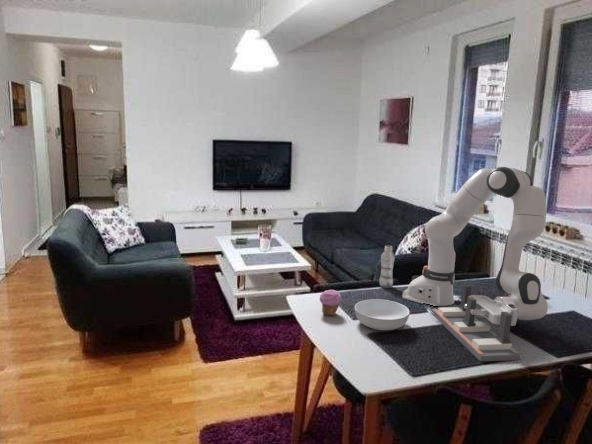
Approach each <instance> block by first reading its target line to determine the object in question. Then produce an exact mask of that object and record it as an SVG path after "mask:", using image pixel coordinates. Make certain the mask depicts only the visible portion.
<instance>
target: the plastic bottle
mask: <svg viewBox="0 0 592 444" xmlns="http://www.w3.org/2000/svg"><path fill="white" fill-rule="evenodd" d="M393 248H394V247H393V245H388V244H387V245H386V244H385V245H384V251H383V252H382V254H381V255H380V263H381V265H380V267H381V268H380V269H381V270H380V276H379V281H378V284H379V285H380V287H382V288H391V287H392V286H393V284H394V278H393V269H394V263H395V258H396V257H395V254H394V252H393V250H394V249H393Z"/></svg>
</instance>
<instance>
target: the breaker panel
mask: <svg viewBox="0 0 592 444" xmlns="http://www.w3.org/2000/svg"><path fill="white" fill-rule="evenodd" d="M431 311H432V312H433V313H434V314H433V315H432V316H434V318H436V320H437V321H438V322H439V323H441V324H442V325H443V326H444V328H446V329H447V331H449V332H450V334H451V335H453V336H454V337H455V338H456V339H457V340H458V341H459V342H460V343H461V344H462V345H463V346H464V347H465V348H466V349H467V350H468V351H469V352H470V353H471V354H472V355H473V356H474V357H475V358H476V359H477V360H478V361H479V362H497V361H498V362H499V361H500V362H501V361H505V362H506V361H521V360H520V359H521V354H520V353H519V352H518V351H517V350H516V349H515V348H514V347H512V345H513V344H512V342H511V343H501V342H500V341H499V340H497V339H496V338H495V337H496V336H498V334H496V332H494V331H492V330H491V326H490V325H489V324H488V323H487V322H485V321H483V320H482V321H481V320H479V319H478V318H477V317H476V316H475V317H474V322H475V323H476V326H467V325H466V324H465V323H464V322H463V319H465V314H466V311H463V310H462V309H460V308H459V307H458V306H457V307H455V306H453V307H451V306H450V307H437V308H431Z"/></svg>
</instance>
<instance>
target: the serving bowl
mask: <svg viewBox="0 0 592 444" xmlns="http://www.w3.org/2000/svg"><path fill="white" fill-rule="evenodd" d="M410 312H411V311H410V309H409V308H408V307H407V306H406V305H404V304H401V303H399V302H396V301H394V300H393V301H392V300H388V299H381V298H380V299H379V298H378V299H376V298H375V299H374V298H373V299H371V298H370V299H364V300H360V301H358V302H357V303H355V305H354V313H355V317H356V318H357V320H358V321H359V322H360V323H361V324H362V325H364V326H366V327H368V328H370V329H372V330H378V331H392V330H396V329H400V328H401V327H403V326H404V325H405V324H406V323H407V322H408V320H409V318H410Z"/></svg>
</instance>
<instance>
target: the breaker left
mask: <svg viewBox="0 0 592 444" xmlns="http://www.w3.org/2000/svg"><path fill="white" fill-rule="evenodd" d="M471 292H472V286H471V285H470V284H467V283H466V284H465V283H464V284H462V289H461V297H460V304H458V305H457V307H459V308H460V309H462V310H463V311H466V309H465V308H464V306H465V304H467V297H469V296H470V295H471Z"/></svg>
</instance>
